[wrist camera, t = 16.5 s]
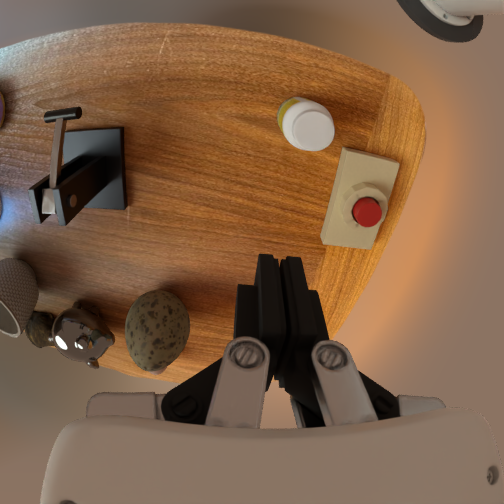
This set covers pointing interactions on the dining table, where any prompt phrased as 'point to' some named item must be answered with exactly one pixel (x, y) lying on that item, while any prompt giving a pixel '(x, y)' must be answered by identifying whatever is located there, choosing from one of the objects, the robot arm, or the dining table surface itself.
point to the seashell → (39, 329)
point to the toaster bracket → (86, 175)
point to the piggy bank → (81, 334)
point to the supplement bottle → (306, 124)
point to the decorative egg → (156, 329)
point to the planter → (16, 295)
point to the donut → (2, 109)
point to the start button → (367, 212)
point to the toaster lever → (57, 152)
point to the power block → (357, 197)
